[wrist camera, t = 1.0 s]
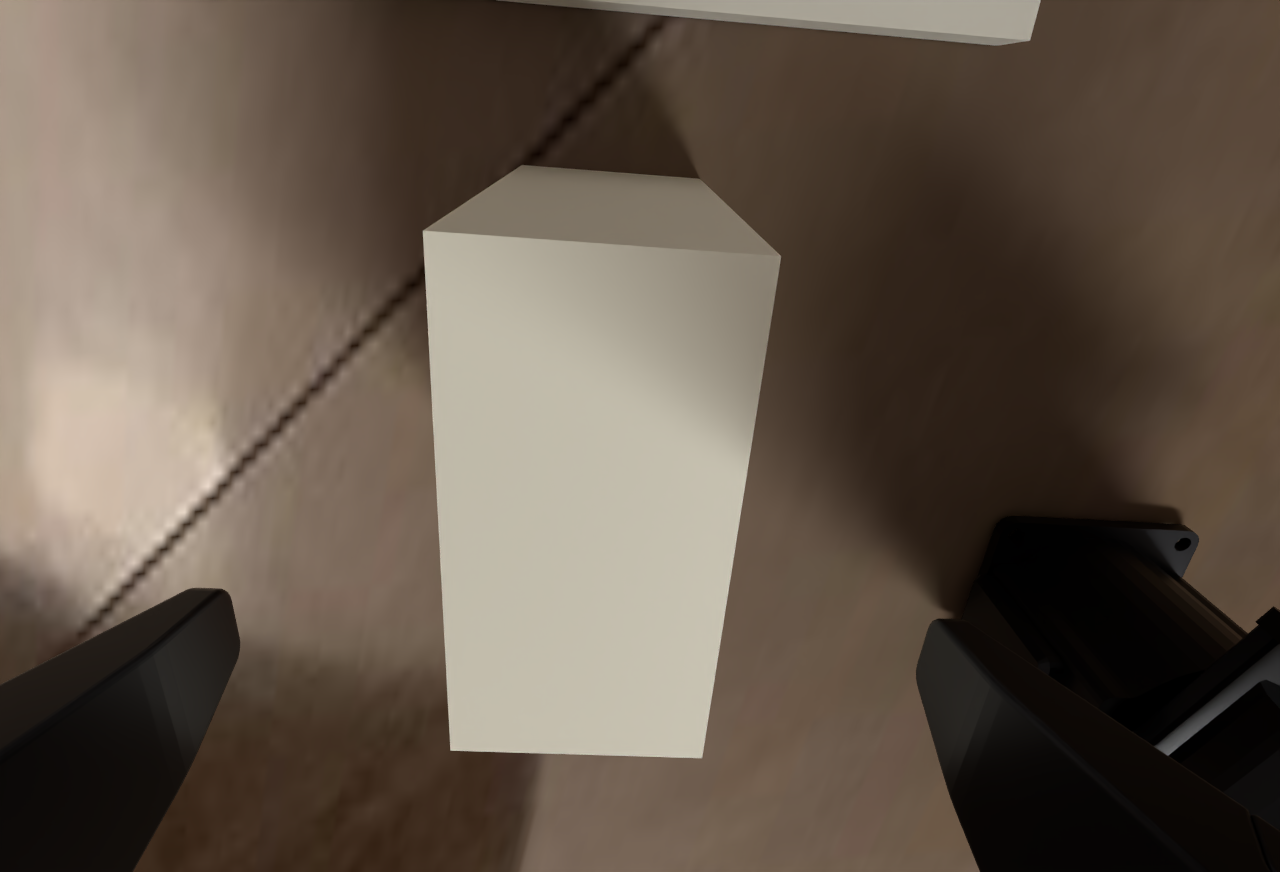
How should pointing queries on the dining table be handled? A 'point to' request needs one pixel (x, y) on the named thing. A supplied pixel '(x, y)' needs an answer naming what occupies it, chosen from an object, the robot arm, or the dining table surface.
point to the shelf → (852, 15)
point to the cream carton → (591, 453)
